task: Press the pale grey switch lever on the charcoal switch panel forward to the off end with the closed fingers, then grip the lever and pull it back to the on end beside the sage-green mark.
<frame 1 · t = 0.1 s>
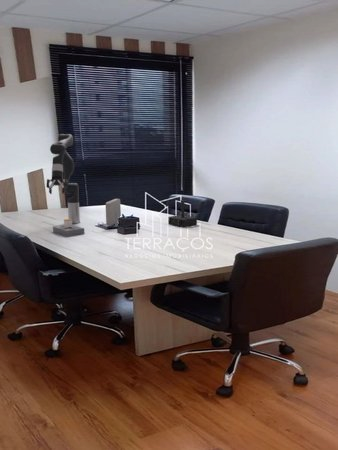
hand: (56, 193, 295), 31 cm above the table, tool tilted 20°, fingers open, 8 cm apart
network device: (113, 225, 345), on the table
lever: (68, 223, 315), point 7 cm above the table, slide at 7.0 cm
dark pedestal with post: (181, 225, 343), on the table
switch panel: (68, 232, 316), on the table
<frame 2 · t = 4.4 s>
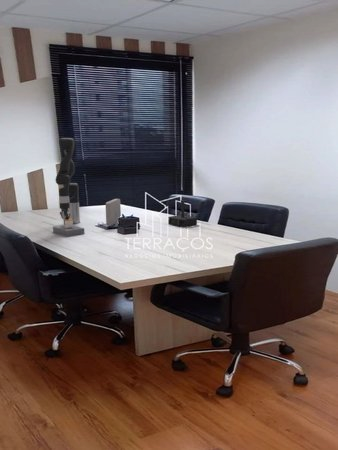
hand: (65, 224, 318), 6 cm above the table, tool pointing down, fingers closed
lever: (68, 223, 314), point 7 cm above the table, slide at 8.0 cm, touching hand
everything else where it was.
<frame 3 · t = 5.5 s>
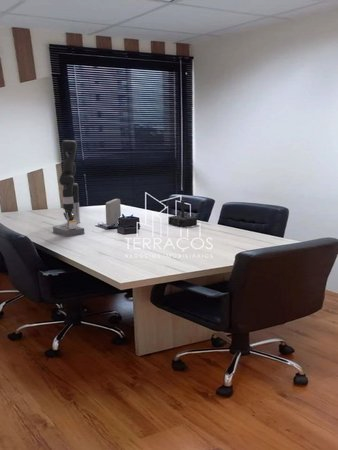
hand: (69, 225, 313), 6 cm above the table, tool pointing down, fingers closed
lever: (72, 224, 310), point 7 cm above the table, slide at 13.9 cm, touching gripper, hand
everything else where it was.
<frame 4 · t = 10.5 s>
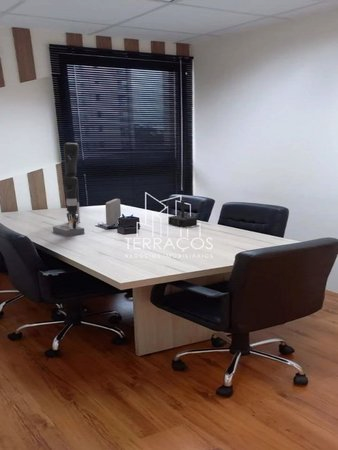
hand: (73, 227, 310), 5 cm above the table, tool pointing down, fingers open, 3 cm apart
lever: (73, 224, 309), point 7 cm above the table, slide at 14.6 cm, touching gripper
everything else where it was.
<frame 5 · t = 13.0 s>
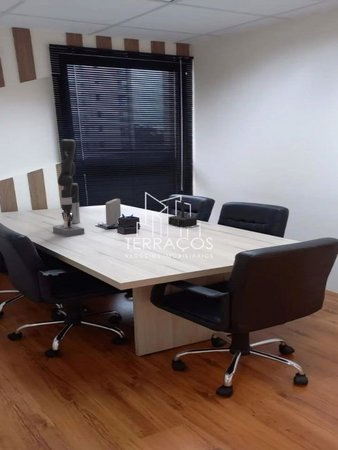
hand: (68, 226, 316), 5 cm above the table, tool pointing down, fingers closed on lever, 3 cm apart
lever: (67, 223, 315), point 7 cm above the table, slide at 6.6 cm, touching gripper
everything else where it was.
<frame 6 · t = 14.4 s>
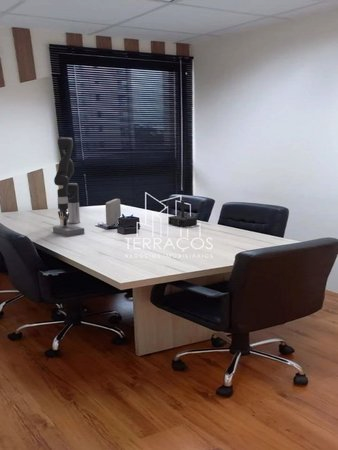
hand: (64, 225, 320), 5 cm above the table, tool pointing down, fingers closed on lever, 3 cm apart
lever: (64, 222, 319), point 7 cm above the table, slide at 0.6 cm, touching gripper
everything else where it was.
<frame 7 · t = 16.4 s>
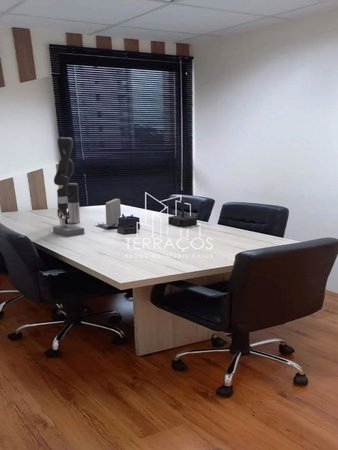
hand: (63, 223, 320), 6 cm above the table, tool pointing down, fingers open, 8 cm apart
lever: (63, 221, 320), point 7 cm above the table, slide at 0.4 cm
everything else where it was.
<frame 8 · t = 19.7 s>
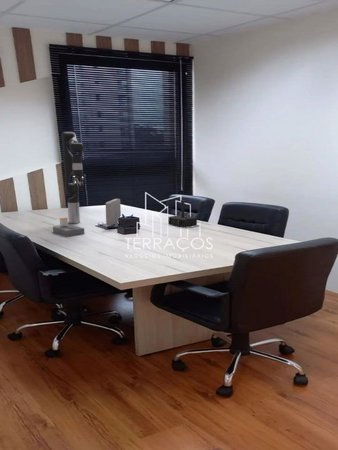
hand: (78, 190, 328), 30 cm above the table, tool pointing down, fingers open, 8 cm apart
nothing on the table moved.
at the end: lever slide at 0.4 cm; the gripper is holding nothing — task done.
